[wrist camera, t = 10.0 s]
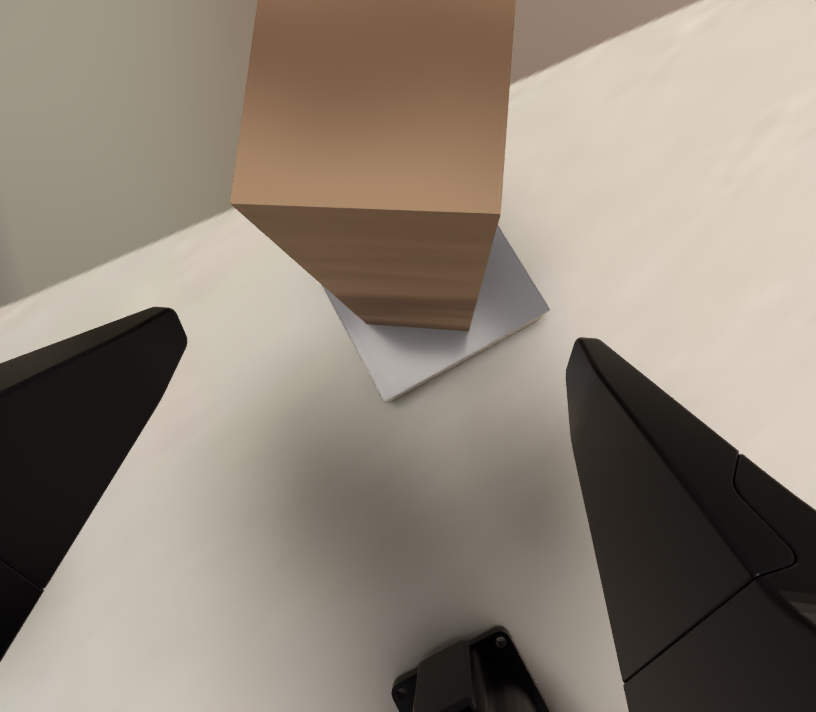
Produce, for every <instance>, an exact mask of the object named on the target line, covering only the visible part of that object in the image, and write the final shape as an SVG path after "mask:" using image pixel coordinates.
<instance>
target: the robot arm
mask: <svg viewBox="0 0 816 712" xmlns="http://www.w3.org/2000/svg"><path fill="white" fill-rule="evenodd" d="M186 346H187V336H186V334H185V331H184V329H183V327H182V324H181V322H180V320H179V318H178V315H177V313H176V312H175V311H174V310H173V309H171V308H166V307H152V308H149V309H146V310H143V311H141V312H138V313H135V314H133V315H130V316H127V317H124V318H122V319H119V320H116V321H114V322H111V323H108V324H106V325H103V326H100V327H97V328H95V329H92V330H89V331H87V332H84V333H81V334H79V335H76V336H73V337H70V338H68V339H65V340H62V341H60V342H57V343H54V344H51V345H49V346H46V347H43V348H41V349H38V350H35V351H33V352H30V353H27V354H24V355H22V356H19V357H16V358H14V359H11V360H8V361H6V362H3V363H0V662H1V660H2V658H3V657H4V655H5V654H6V652H7V650H8V649H9V647H10V645H11V644H12V642H13V641H14V639H15V637H16V636H17V634H18V632H19V631H20V629H21V628H22V626H23V624H24V623H25V621H26V619H27V618H28V616H29V615H30V613H31V611H32V610H33V608H34V606H35V605H36V603H37V602H38V600H39V598H40V597H41V595H42V593H43V592H44V588H45V587H46V586H47V585H48V583H49V581H50V580H51V578H52V576H53V575H54V573H55V572H56V570H57V568H58V567H59V565H60V563H61V562H62V560H63V559H64V557H65V555H66V554H67V552H68V550H69V549H70V547H71V546H72V544H73V542H74V541H75V539H76V537H77V536H78V534H79V533H80V531H81V529H82V528H83V526H84V524H85V523H86V521H87V520H88V518H89V516H90V515H91V513H92V511H93V510H94V508H95V506H96V505H97V503H98V502H99V500H100V498H101V497H102V495H103V493H104V492H105V490H106V489H107V487H108V485H109V484H110V482H111V480H112V479H113V477H114V476H115V474H116V472H117V471H118V469H119V467H120V466H121V464H122V463H123V461H124V459H125V458H126V456H127V454H128V453H129V451H130V450H131V448H132V446H133V445H134V443H135V441H136V440H137V438H138V437H139V435H140V433H141V432H142V430H143V428H144V427H145V425H146V424H147V422H148V420H149V419H150V417H151V415H152V414H153V412H154V411H155V409H156V407H157V406H158V404H159V402H160V400H161V399H162V397H163V395H164V393H165V391H166V389H167V387H168V384H169V382H170V380H171V378H172V376H173V374H174V372H175V370H176V368H177V366H178V363H179V361H180V359H181V357H182V355H183V353H184V351H185V349H186ZM566 387H567V399H568V412H569V424H570V435H571V442H572V448H573V453H574V458H575V462H576V467H577V471H578V476H579V481H580V485H581V490H582V495H583V499H584V504H585V509H586V513H587V518H588V522H589V527H590V532H591V536H592V541H593V546H594V550H595V555H596V560H597V564H598V569H599V573H600V578H601V583H602V587H603V592H604V597H605V601H606V606H607V611H608V615H609V620H610V624H611V629H612V634H613V638H614V643H615V648H616V652H617V657H618V662H619V666H620V671H621V675H622V680H623V682H624V683H625V684H624V691H625V695H626V700H627V705H628V709H629V712H816V510H815V509H813V508H812V507H811V506H809V505H808V504H807V503H805V502H804V501H802V500H801V499H800V498H798V497H797V496H796V495H794V494H793V493H792V492H790V491H789V490H788V489H786V488H785V487H784V486H783V485H781V484H780V483H779V482H777V481H776V480H775V479H774V478H772V477H771V476H770V475H768V474H767V473H766V472H765V471H763V470H762V469H761V468H759V467H758V466H757V465H756V464H754V463H753V462H752V461H751V460H750V459H748V458H747V457H746V456H745V455H743V454H739V451H738V450H737V449H736V448H734V447H733V446H732V445H731V444H729V443H728V442H727V441H726V440H724V439H723V438H722V437H721V436H719V435H718V434H717V433H716V432H714V431H713V430H712V429H711V428H709V427H708V426H707V425H706V424H704V423H703V422H702V421H701V420H699V419H698V418H697V417H696V416H694V415H693V414H692V413H691V412H689V411H688V410H687V409H686V408H684V407H683V406H682V405H681V404H679V403H678V402H677V401H676V400H674V399H673V398H672V397H671V396H669V395H668V394H667V393H666V392H664V391H663V390H662V389H661V388H660V387H658V386H657V385H656V384H655V383H653V382H652V381H651V380H650V379H648V378H647V377H646V376H645V375H643V374H642V373H641V372H640V371H638V370H637V369H636V368H635V367H633V366H632V365H631V364H630V363H628V362H627V361H626V360H625V359H623V358H622V357H621V356H620V355H618V354H617V353H616V352H615V351H613V350H612V349H611V348H610V347H608V346H607V345H606V344H605V343H603V342H602V341H601V340H599V339H597V338H583V337H580V338H578V339H577V340H576V341H575V343H574V346H573V349H572V353H571V356H570V359H569V362H568V365H567V369H566ZM498 637H504V638H505V641H504V642H502V643H499V642H497V641H496V639H497V638H498ZM399 688H403V689H405V690H406V693H403V694H402V693H400V692H399V691H398V689H399ZM392 697H393V700H394V702H395V704H396V706H397V708H398V710H399V712H551V711H550V709H549V707H548V705H547V703H546V701H545V700H544V698H543V696H542V694H541V692H540V690H539V688H538V686H537V684H536V683H535V681H534V679H533V677H532V675H531V673H530V671H529V669H528V668H527V666H526V664H525V662H524V660H523V658H522V656H521V654H520V653H519V651H518V649H517V647H516V645H515V643H514V641H513V639H512V638H511V636H510V634H509V632H508V631H507V630H506V629H505V628H503V627H495V628H493V629H491V630H489V631H487V632H485V633H483V634H482V635H480V636H478V637H476V638H474V639H472V640H470V641H468V642H467V641H460V642H458V643H456V644H454V645H452V646H450V647H448V648H446V649H445V650H443V651H441V652H439V653H437V654H435V655H433V656H431V657H429V658H427V659H425V660H423V661H422V662H420V664H419V667H418V668H416V669H415V670H413V671H411V672H409V673H407V674H405V675H403V676H401V677H399V678H398V679H396V680H395V682H394V684H393V687H392Z"/></svg>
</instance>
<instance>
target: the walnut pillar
mask: <svg viewBox="0 0 816 712" xmlns="http://www.w3.org/2000/svg"><path fill="white" fill-rule="evenodd" d="M515 2H516V0H258V3H257V11H256V17H255V25H254V32H253V39H252V47H251V54H250V62H249V69H248V77H247V83H246V91H245V98H244V105H243V113H242V120H241V127H240V135H239V143H238V149H237V156H236V164H235V171H234V179H233V186H232V193H231V201H230V204H231V205H232V206H233V207H235V208H236V209H237V210H238V211H239V212H240V213H241V214H242V215H244V216H245V217H246V218H247V219H248V220H249V221H250V222H252V223H253V224H254V225H255V226H256V227H257V228H258V229H259V230H261V231H262V232H263V233H264V234H265V235H266V236H267V237H269V238H270V239H271V240H272V241H273V242H274V243H275V244H276V245H278V246H279V247H280V248H281V249H282V250H283V251H284V252H286V253H287V254H288V255H289V256H290V257H291V258H292V259H293V260H295V261H296V262H297V263H298V264H299V265H300V266H301V267H303V268H304V269H305V270H306V271H307V272H308V273H309V274H310V275H312V276H313V277H314V278H315V279H316V280H317V281H318V282H319V283H321V284H322V285H323V286H324V287H325V288H326V289H327V290H329V291H330V292H331V293H332V294H333V295H334V296H335V297H336V298H338V299H339V300H340V301H341V302H342V303H343V304H344V305H346V306H347V307H348V308H349V309H350V310H351V311H352V312H353V313H355V314H356V315H357V316H358V317H359V318H360V319H361V320H363V321H364V322H365V323H366V324H372V325H386V326H400V327H414V328H428V329H442V330H457V331H469V329H470V325H471V322H472V318H473V314H474V311H475V307H476V303H477V299H478V296H479V292H480V288H481V285H482V281H483V277H484V273H485V270H486V266H487V262H488V259H489V255H490V251H491V247H492V244H493V240H494V236H495V233H496V229H497V225H498V221H499V218H500V214H501V200H502V186H503V172H504V158H505V144H506V129H507V115H508V101H509V87H510V71H511V59H512V44H513V30H514V16H515Z"/></svg>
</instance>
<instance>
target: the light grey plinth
mask: <svg viewBox="0 0 816 712" xmlns="http://www.w3.org/2000/svg"><path fill="white" fill-rule="evenodd" d="M322 286H323V285H322ZM323 288H324V290H325V292H326V294H327V295H328V297H329V299H330V301H331V303H332V305H333V307H334V309H335V311H336V312H337V314H338V316H339V318H340V320H341V322H342V324H343V326H344V327H345V329H346V331H347V333H348V335H349V337H350V339H351V341H352V342H353V344H354V346H355V348H356V350H357V352H358V354H359V356H360V358H361V359H362V361H363V363H364V365H365V367H366V369H367V371H368V373H369V374H370V376H371V378H372V380H373V382H374V384H375V386H376V388H377V389H378V391H379V393H380V395H381V397H382V399H383V401H384V402H392V401H394V400H395V399H397V398H399V397H401V396H403V395H404V394H406V393H408V392H410V391H412V390H413V389H415V388H417V387H419V386H421V385H422V384H424V383H426V382H428V381H430V380H431V379H433V378H435V377H437V376H439V375H440V374H442V373H444V372H446V371H448V370H449V369H451V368H453V367H455V366H457V365H458V364H460V363H462V362H464V361H466V360H467V359H469V358H471V357H473V356H475V355H477V354H478V353H480V352H482V351H484V350H486V349H487V348H489V347H491V346H493V345H495V344H496V343H498V342H500V341H502V340H504V339H505V338H507V337H509V336H511V335H513V334H514V333H516V332H518V331H520V330H522V329H523V328H525V327H527V326H529V325H531V324H532V323H534V322H536V321H538V320H539V319H540V318H542V317H543V316H544V315H545V314H546V313H547V312H548V311H549V310H550V309H549V307H548V305H547V304H546V302H545V301H544V299H543V297H542V296H541V294H540V292H539V291H538V289H537V288H536V286H535V284H534V283H533V281H532V280H531V278H530V276H529V275H528V273H527V271H526V270H525V268H524V267H523V265H522V263H521V262H520V260H519V259H518V257H517V255H516V254H515V252H514V250H513V249H512V247H511V246H510V244H509V242H508V241H507V239H506V238H505V236H504V234H503V233H502V231H501V230H500V228H499V226H498V225H497V229H496V233H495V236H494V240H493V244H492V247H491V251H490V255H489V259H488V262H487V266H486V270H485V273H484V277H483V281H482V285H481V288H480V292H479V296H478V299H477V303H476V307H475V311H474V314H473V318H472V322H471V325H470V329H469V331H457V330H442V329H428V328H414V327H400V326H386V325H372V324H366V323H365V322H364V321H363V320H361V319H360V318H359V317H358V316H357V315H356V314H355V313H353V312H352V311H351V310H350V309H349V308H348V307H347V306H346V305H344V304H343V303H342V302H341V301H340V300H339V299H338V298H336V297H335V296H334V295H333V294H332V293H331V292H330V291H329V290H327V289H326V288H325V287H324V286H323Z"/></svg>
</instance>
